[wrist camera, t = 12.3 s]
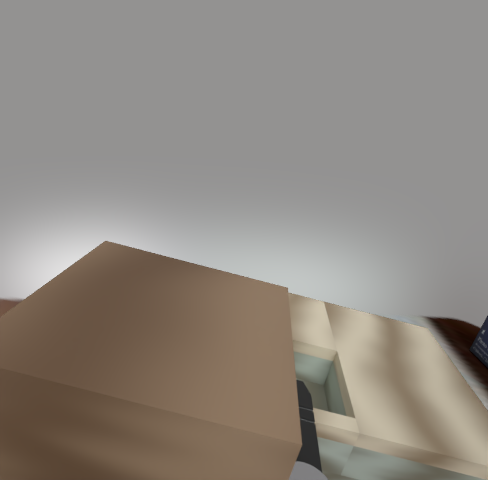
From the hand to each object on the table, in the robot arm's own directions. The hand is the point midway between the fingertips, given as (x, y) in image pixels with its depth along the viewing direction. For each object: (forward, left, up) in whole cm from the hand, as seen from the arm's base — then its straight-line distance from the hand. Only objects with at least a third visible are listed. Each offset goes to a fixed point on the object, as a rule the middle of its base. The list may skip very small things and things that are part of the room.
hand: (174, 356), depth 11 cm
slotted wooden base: (-10, -16, -13) cm, 23 cm away
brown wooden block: (0, +3, -9) cm, 9 cm away
